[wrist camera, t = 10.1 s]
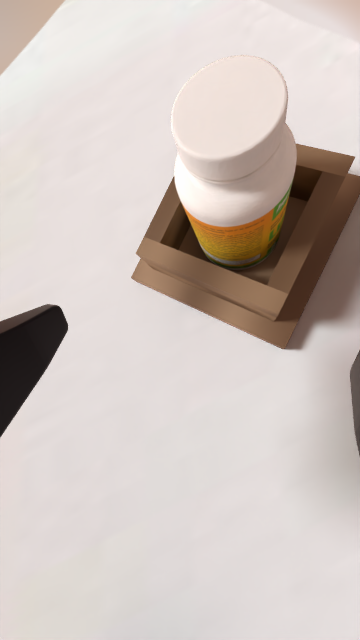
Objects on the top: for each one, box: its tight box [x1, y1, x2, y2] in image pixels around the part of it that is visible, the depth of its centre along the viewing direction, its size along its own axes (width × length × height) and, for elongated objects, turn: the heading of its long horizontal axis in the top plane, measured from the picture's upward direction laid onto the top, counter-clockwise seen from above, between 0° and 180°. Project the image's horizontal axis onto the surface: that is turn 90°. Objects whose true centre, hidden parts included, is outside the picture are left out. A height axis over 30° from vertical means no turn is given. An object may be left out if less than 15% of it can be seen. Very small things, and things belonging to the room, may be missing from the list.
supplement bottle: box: [171, 55, 297, 270], centre depth 13 cm, size 5×5×10 cm
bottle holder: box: [131, 144, 360, 349], centre depth 17 cm, size 12×12×4 cm
